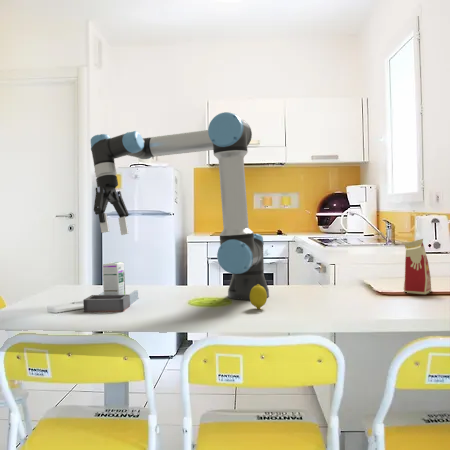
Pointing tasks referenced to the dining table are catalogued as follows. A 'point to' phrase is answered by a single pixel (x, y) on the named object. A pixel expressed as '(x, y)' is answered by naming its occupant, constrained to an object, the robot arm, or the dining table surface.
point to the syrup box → (114, 278)
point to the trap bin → (106, 303)
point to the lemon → (258, 296)
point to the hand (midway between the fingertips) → (115, 233)
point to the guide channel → (132, 296)
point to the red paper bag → (416, 268)
